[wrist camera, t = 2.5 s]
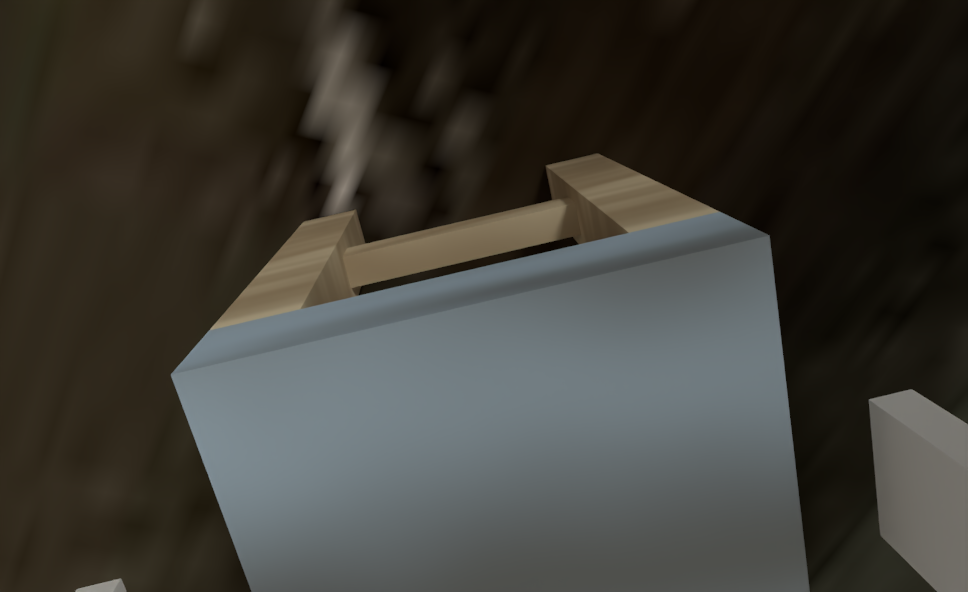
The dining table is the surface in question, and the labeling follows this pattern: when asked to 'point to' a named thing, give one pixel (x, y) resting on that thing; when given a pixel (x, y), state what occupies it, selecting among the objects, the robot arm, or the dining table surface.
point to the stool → (509, 404)
